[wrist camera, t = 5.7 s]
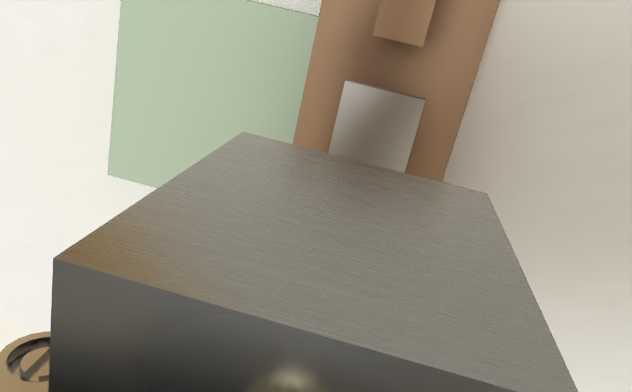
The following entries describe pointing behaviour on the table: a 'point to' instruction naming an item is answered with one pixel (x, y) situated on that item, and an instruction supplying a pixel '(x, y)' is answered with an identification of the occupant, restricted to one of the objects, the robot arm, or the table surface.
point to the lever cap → (299, 286)
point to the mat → (202, 81)
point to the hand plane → (392, 80)
